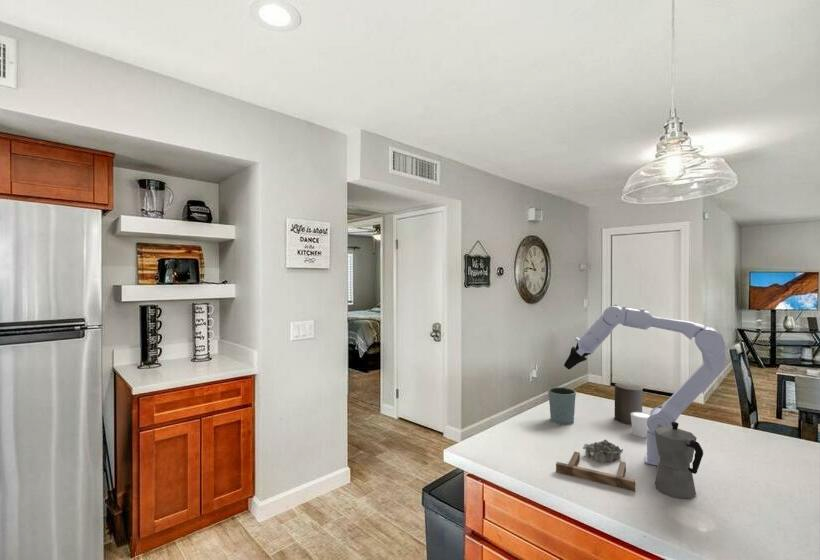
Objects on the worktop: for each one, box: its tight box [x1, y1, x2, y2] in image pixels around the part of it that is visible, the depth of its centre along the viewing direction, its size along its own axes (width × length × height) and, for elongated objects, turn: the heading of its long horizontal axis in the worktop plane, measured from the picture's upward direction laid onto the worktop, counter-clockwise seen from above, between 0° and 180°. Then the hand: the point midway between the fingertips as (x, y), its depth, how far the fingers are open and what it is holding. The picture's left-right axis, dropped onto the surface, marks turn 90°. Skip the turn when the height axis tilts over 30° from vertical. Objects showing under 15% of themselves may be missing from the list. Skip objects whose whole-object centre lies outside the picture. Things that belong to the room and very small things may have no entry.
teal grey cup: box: [547, 386, 577, 426], centre depth 159 cm, size 10×10×12 cm
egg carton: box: [582, 439, 624, 464], centre depth 128 cm, size 11×8×4 cm
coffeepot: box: [654, 421, 704, 500], centre depth 106 cm, size 15×9×18 cm, turn 6°
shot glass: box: [631, 411, 650, 438], centre depth 146 cm, size 7×7×7 cm
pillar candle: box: [613, 382, 644, 426], centre depth 159 cm, size 10×10×15 cm
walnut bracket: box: [555, 451, 636, 492], centre depth 117 cm, size 20×12×2 cm, turn 58°
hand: (568, 364), depth 139 cm, fingers open, 7 cm apart
